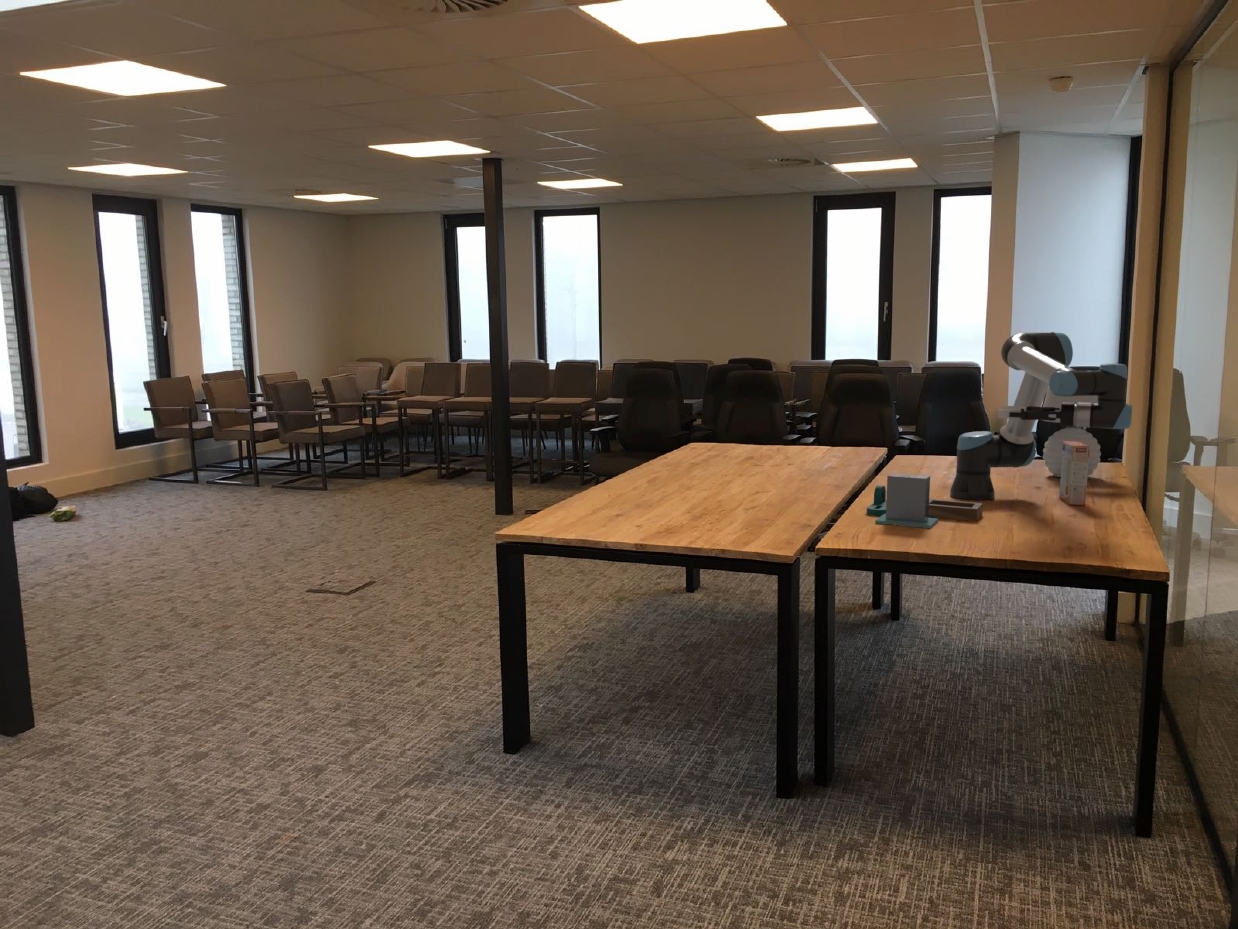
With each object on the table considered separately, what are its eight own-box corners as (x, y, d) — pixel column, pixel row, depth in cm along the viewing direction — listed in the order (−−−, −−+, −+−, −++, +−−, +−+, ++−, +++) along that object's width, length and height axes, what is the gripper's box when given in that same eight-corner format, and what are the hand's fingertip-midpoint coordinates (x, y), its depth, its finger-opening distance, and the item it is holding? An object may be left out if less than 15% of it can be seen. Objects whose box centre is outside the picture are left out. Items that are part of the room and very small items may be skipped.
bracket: (878, 506, 344) (879, 483, 343) (898, 508, 341) (899, 485, 340) (864, 515, 329) (864, 491, 328) (884, 517, 325) (885, 493, 324)
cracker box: (1086, 506, 342) (1090, 445, 339) (1067, 505, 344) (1071, 445, 341) (1076, 498, 356) (1080, 440, 353) (1058, 498, 357) (1062, 440, 354)
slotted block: (927, 510, 336) (928, 498, 335) (982, 515, 327) (982, 503, 327) (920, 516, 326) (920, 504, 325) (976, 521, 317) (977, 509, 317)
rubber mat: (884, 516, 325) (884, 513, 325) (937, 521, 317) (938, 518, 317) (875, 523, 315) (875, 520, 315) (930, 528, 307) (930, 525, 307)
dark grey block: (890, 516, 321) (891, 473, 319) (928, 519, 316) (930, 476, 314) (885, 519, 316) (887, 475, 314) (924, 523, 311) (926, 478, 308)
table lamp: (1109, 483, 387) (1116, 380, 381) (1039, 480, 395) (1045, 379, 389) (1099, 473, 411) (1106, 376, 405) (1033, 471, 419) (1039, 375, 413)
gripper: (1071, 431, 293) (994, 427, 303) (1077, 423, 315) (1005, 419, 325) (1072, 405, 292) (996, 402, 302) (1078, 399, 314) (1007, 396, 324)
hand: (1001, 411), depth 313 cm, fingers open, 13 cm apart
